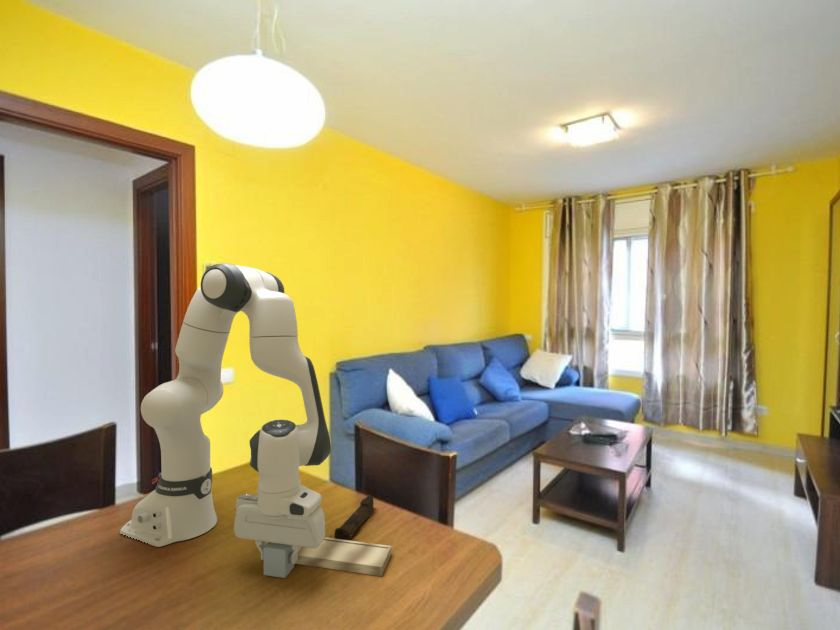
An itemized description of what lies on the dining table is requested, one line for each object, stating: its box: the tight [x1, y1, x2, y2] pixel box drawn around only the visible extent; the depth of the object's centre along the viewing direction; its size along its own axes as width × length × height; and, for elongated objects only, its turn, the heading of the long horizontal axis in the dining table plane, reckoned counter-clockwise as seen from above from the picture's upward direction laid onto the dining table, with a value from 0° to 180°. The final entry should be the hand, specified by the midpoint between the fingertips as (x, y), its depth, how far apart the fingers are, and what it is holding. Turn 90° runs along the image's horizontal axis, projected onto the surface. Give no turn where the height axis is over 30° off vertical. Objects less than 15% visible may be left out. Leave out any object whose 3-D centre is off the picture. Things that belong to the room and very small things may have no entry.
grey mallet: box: [263, 542, 295, 579], centre depth 95 cm, size 5×12×6 cm, turn 168°
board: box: [294, 536, 393, 577], centre depth 97 cm, size 28×8×2 cm, turn 79°
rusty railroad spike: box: [334, 494, 374, 541], centre depth 111 cm, size 19×4×5 cm, turn 160°
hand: (279, 560), depth 91 cm, fingers closed on grey mallet, 5 cm apart
